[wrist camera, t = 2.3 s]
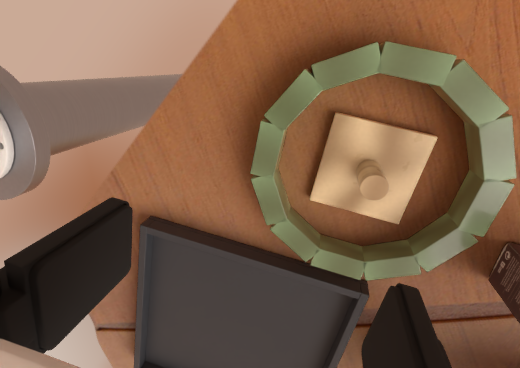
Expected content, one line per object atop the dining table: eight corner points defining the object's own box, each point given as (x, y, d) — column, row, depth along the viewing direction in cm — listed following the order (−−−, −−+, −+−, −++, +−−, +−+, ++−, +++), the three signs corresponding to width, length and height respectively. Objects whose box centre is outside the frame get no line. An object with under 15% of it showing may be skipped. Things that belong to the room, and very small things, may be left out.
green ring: (243, 229, 31) (236, 242, 28) (286, 24, 23) (281, 19, 21) (433, 285, 28) (442, 305, 26) (550, 78, 21) (578, 80, 19)
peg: (309, 196, 28) (306, 219, 24) (335, 111, 25) (336, 120, 21) (396, 220, 27) (408, 249, 23) (435, 135, 24) (457, 149, 20)
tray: (142, 358, 42) (133, 372, 40) (151, 215, 33) (139, 224, 31) (306, 419, 39) (304, 437, 37) (367, 281, 30) (369, 295, 28)
